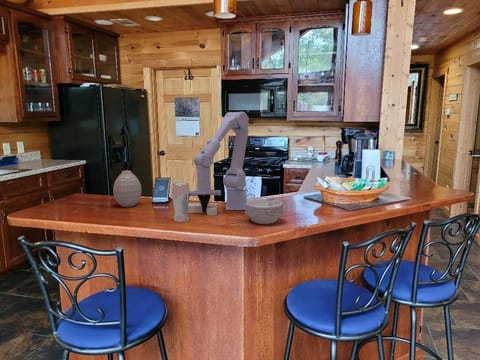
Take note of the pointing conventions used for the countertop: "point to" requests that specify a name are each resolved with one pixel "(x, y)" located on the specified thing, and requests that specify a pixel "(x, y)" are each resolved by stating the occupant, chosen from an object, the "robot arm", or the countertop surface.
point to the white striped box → (198, 207)
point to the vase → (127, 189)
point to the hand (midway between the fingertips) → (204, 212)
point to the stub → (212, 210)
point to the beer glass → (180, 201)
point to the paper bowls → (264, 210)
